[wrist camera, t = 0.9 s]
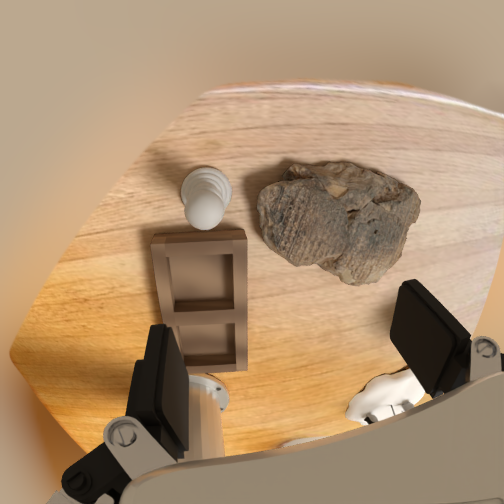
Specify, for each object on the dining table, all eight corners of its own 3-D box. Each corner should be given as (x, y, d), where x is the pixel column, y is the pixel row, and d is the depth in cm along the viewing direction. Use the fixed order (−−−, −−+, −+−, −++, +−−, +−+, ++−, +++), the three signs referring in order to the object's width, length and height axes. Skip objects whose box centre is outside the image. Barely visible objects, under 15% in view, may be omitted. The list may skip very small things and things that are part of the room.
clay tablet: (234, 248, 35) (373, 283, 39) (238, 266, 30) (390, 301, 35) (273, 129, 30) (413, 189, 35) (284, 129, 26) (436, 198, 30)
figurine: (441, 361, 50) (476, 416, 36) (404, 414, 58) (426, 466, 43) (364, 366, 48) (394, 438, 34) (331, 422, 56) (347, 484, 41)
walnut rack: (245, 355, 41) (247, 370, 39) (175, 359, 40) (174, 374, 37) (244, 229, 34) (247, 239, 31) (154, 234, 32) (150, 244, 30)
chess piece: (171, 194, 31) (157, 220, 23) (204, 156, 30) (202, 168, 22) (208, 224, 33) (209, 260, 25) (241, 188, 32) (253, 213, 24)
